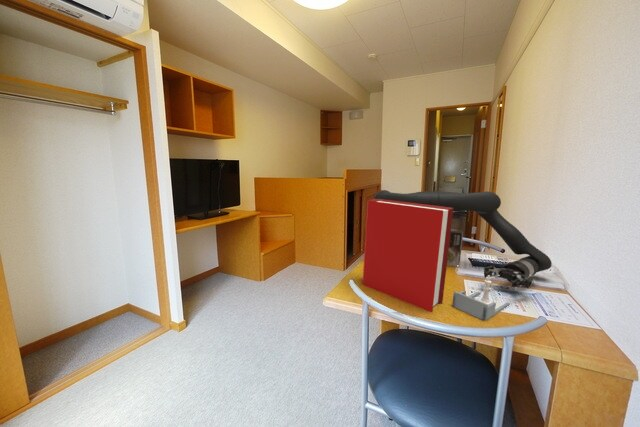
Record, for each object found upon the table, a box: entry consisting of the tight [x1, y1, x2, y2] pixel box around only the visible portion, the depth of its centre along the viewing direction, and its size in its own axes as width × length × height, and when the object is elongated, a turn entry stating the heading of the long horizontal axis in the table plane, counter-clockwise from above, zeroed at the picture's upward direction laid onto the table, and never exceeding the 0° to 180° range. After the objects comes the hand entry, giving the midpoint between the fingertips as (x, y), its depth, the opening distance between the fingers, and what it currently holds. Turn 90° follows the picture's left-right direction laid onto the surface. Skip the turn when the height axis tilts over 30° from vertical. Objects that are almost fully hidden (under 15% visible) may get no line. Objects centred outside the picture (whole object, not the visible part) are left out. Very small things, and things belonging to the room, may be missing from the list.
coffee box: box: [447, 228, 464, 268], centre depth 126 cm, size 9×6×16 cm
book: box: [362, 198, 454, 313], centre depth 93 cm, size 27×8×32 cm, turn 45°
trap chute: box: [451, 290, 511, 322], centre depth 88 cm, size 10×17×5 cm, turn 124°
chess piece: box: [476, 275, 493, 305], centre depth 89 cm, size 5×5×10 cm
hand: (498, 280), depth 93 cm, fingers open, 8 cm apart
